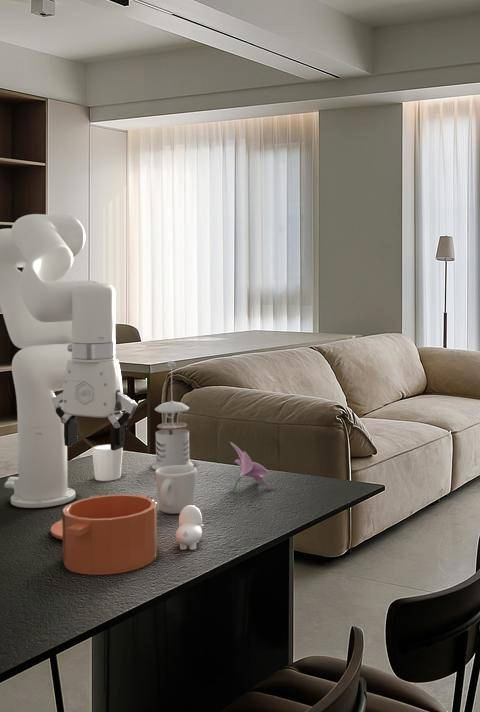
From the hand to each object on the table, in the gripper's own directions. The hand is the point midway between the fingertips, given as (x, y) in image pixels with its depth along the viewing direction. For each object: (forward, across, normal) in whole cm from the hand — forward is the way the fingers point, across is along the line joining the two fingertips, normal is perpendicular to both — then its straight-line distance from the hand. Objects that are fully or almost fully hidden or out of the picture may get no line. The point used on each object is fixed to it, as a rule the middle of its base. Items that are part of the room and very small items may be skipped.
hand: (94, 446), depth 154 cm
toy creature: (+15, +21, -2) cm, 26 cm away
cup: (+15, +9, +14) cm, 22 cm away
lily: (+15, +16, +34) cm, 40 cm away
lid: (+14, +1, -1) cm, 15 cm away
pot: (+15, +12, -12) cm, 23 cm away
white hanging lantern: (+16, -11, +48) cm, 52 cm away
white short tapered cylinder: (+16, -19, +34) cm, 42 cm away
